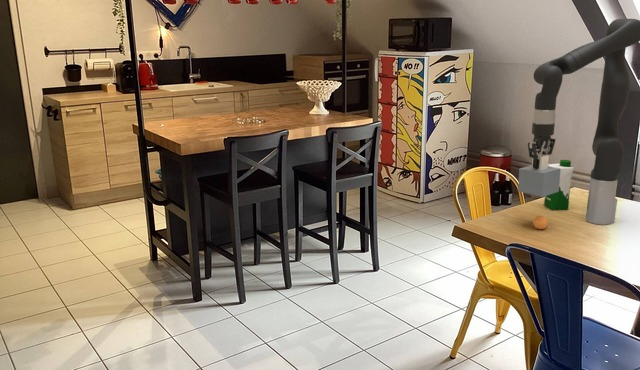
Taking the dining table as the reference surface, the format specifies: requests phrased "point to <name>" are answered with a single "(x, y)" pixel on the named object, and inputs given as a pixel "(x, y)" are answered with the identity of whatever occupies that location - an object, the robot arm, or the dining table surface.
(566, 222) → the dining table surface
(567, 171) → the milk carton
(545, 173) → the tissue box
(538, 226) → the ball
